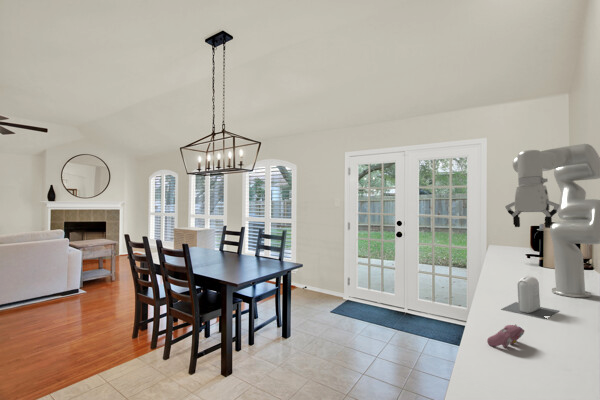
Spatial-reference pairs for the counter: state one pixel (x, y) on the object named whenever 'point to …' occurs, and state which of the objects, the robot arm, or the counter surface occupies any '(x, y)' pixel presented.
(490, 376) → the counter surface
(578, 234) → the robot arm
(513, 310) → the dark gray panel
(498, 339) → the video game controller
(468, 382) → the counter surface
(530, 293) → the photo printer
